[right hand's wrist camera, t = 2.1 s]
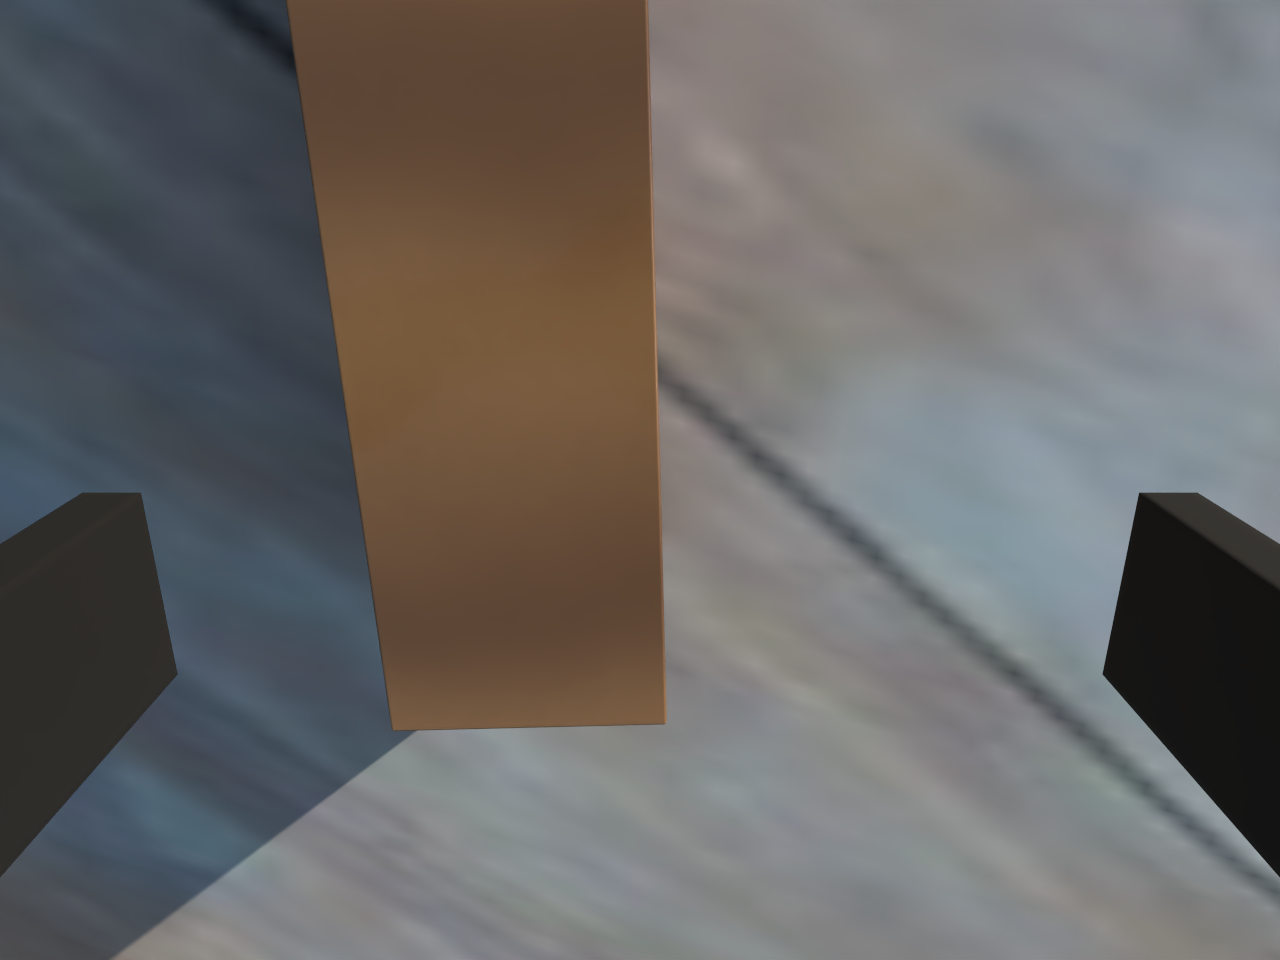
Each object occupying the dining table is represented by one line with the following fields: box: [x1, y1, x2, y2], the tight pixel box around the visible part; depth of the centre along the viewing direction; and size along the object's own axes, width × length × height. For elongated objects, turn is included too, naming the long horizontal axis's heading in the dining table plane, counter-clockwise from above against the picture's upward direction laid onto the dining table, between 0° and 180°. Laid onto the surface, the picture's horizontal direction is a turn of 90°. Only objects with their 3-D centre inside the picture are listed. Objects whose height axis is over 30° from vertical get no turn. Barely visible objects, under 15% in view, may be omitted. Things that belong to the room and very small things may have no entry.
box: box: [286, 0, 667, 731], centre depth 19 cm, size 25×6×9 cm, turn 2°
